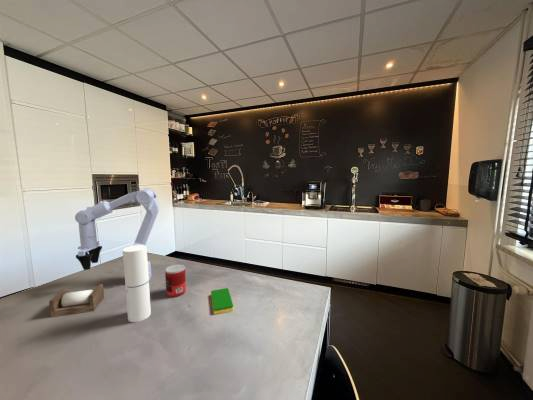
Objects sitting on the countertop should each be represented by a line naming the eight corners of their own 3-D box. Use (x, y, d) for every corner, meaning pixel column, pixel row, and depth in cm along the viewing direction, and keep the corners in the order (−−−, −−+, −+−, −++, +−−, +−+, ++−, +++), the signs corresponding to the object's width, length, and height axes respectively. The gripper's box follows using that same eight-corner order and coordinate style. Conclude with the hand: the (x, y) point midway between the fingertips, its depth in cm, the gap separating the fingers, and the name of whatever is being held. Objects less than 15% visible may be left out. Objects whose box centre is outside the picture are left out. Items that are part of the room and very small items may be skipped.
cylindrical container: (140, 323, 75) (135, 252, 72) (122, 320, 76) (117, 250, 73) (155, 310, 82) (151, 245, 79) (138, 308, 83) (134, 244, 80)
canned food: (189, 288, 98) (188, 264, 97) (180, 298, 90) (179, 272, 89) (172, 287, 99) (171, 263, 98) (162, 297, 91) (161, 271, 90)
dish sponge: (213, 315, 80) (213, 309, 79) (211, 295, 93) (211, 290, 93) (233, 312, 82) (233, 305, 82) (228, 292, 95) (228, 287, 95)
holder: (104, 297, 91) (102, 283, 90) (94, 310, 82) (92, 295, 81) (65, 303, 87) (64, 288, 86) (50, 317, 78) (49, 301, 78)
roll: (94, 298, 88) (93, 287, 87) (88, 306, 83) (86, 294, 82) (69, 302, 86) (68, 290, 85) (62, 310, 81) (60, 297, 80)
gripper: (85, 233, 103) (88, 260, 105) (68, 242, 90) (71, 273, 91) (103, 231, 105) (105, 259, 107) (88, 240, 92) (91, 271, 93)
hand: (91, 265), depth 99 cm, fingers open, 7 cm apart
